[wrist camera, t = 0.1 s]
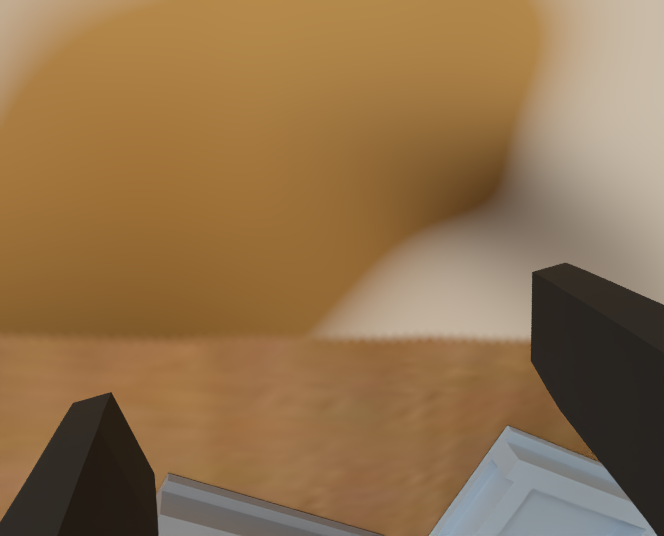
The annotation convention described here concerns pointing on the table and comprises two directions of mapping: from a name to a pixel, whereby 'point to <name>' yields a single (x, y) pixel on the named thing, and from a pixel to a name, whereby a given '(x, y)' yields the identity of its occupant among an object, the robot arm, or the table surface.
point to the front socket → (234, 514)
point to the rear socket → (540, 495)
